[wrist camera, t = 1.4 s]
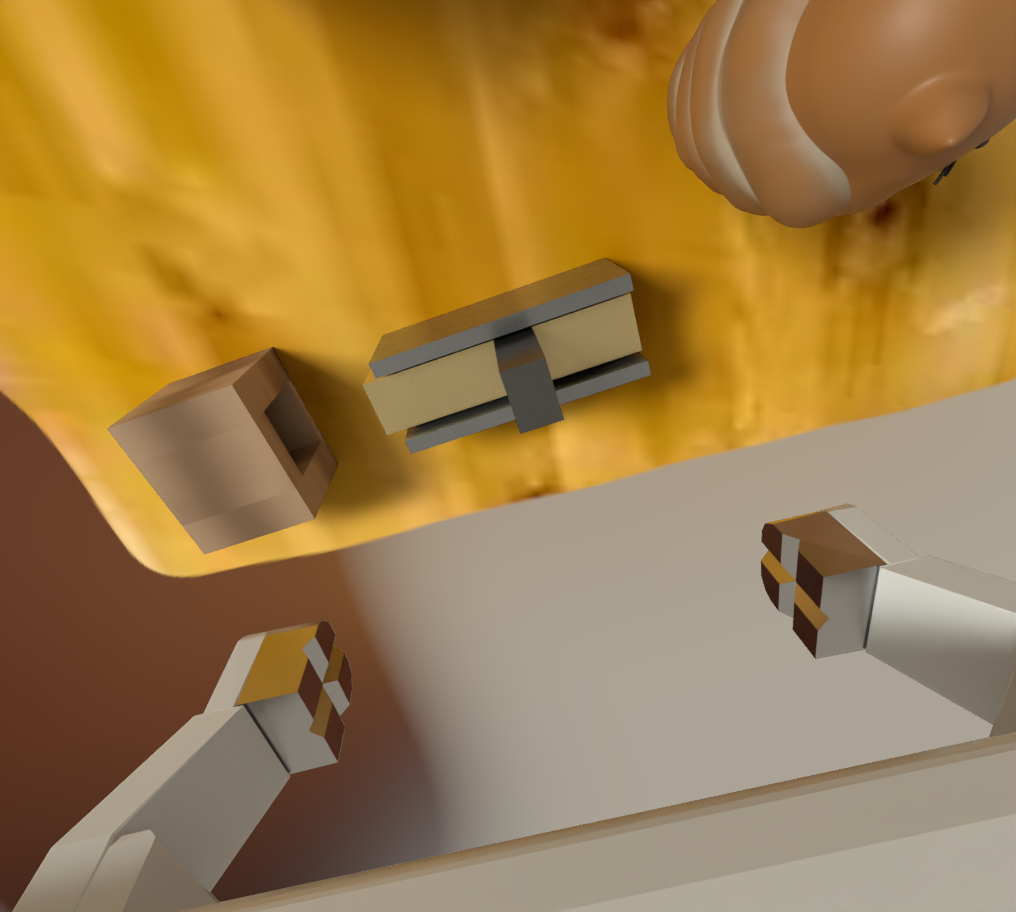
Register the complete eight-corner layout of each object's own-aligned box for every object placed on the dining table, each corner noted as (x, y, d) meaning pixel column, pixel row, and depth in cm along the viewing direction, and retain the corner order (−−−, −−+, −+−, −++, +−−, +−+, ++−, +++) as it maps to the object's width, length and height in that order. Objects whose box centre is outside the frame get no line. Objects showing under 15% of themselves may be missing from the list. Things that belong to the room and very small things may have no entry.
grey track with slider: (604, 257, 29) (630, 273, 24) (624, 346, 31) (650, 374, 27) (382, 335, 30) (368, 363, 26) (418, 415, 32) (411, 453, 28)
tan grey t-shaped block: (614, 281, 28) (663, 317, 21) (626, 334, 30) (675, 383, 23) (371, 366, 30) (343, 424, 23) (393, 412, 31) (373, 481, 24)
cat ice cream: (690, 235, 29) (970, 313, 13) (580, 134, 26) (761, 76, 10) (820, 75, 26) (1395, -80, 10) (709, -58, 23) (1250, -560, 7)
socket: (272, 347, 30) (231, 384, 25) (337, 464, 34) (314, 518, 28) (168, 384, 30) (106, 428, 25) (244, 495, 34) (204, 554, 29)
